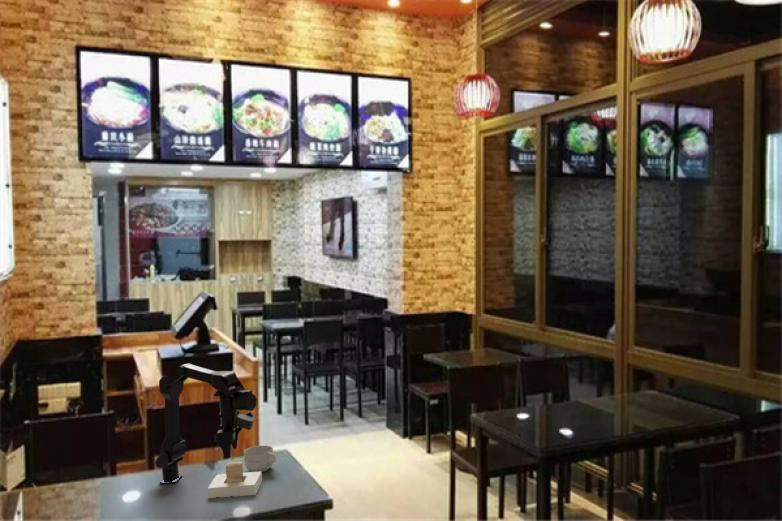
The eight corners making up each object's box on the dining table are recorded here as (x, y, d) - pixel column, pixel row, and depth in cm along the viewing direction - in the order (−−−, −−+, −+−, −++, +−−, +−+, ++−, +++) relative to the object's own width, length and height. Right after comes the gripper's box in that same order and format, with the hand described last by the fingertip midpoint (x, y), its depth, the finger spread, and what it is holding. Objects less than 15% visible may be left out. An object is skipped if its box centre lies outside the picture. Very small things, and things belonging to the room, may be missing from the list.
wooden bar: (229, 487, 220) (227, 462, 220) (244, 486, 220) (242, 461, 220) (227, 492, 216) (225, 466, 216) (242, 490, 217) (240, 465, 216)
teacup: (239, 470, 236) (238, 450, 236) (264, 462, 243) (263, 442, 243) (259, 479, 226) (257, 458, 225) (284, 470, 233) (283, 449, 233)
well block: (217, 484, 224) (216, 474, 224) (262, 480, 224) (261, 471, 224) (208, 498, 212) (207, 488, 212) (255, 494, 212) (254, 484, 212)
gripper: (245, 415, 208) (249, 461, 209) (257, 400, 227) (260, 442, 227) (212, 417, 208) (215, 463, 209) (226, 402, 227) (229, 444, 227)
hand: (231, 452), depth 218 cm, fingers open, 9 cm apart
